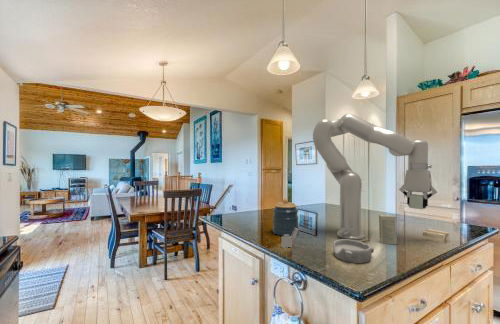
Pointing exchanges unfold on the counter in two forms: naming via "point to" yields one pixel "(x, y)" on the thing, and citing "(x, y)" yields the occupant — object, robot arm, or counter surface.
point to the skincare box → (387, 229)
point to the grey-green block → (416, 201)
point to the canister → (285, 218)
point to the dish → (352, 250)
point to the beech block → (436, 236)
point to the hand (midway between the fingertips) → (417, 206)
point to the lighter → (288, 239)
